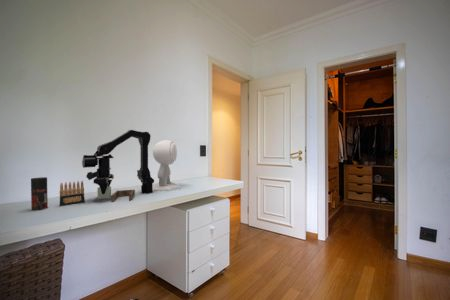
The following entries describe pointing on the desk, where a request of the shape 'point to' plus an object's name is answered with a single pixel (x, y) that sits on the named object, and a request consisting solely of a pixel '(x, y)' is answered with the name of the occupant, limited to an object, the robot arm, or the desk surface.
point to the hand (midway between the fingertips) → (104, 193)
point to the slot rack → (123, 194)
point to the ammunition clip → (71, 194)
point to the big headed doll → (165, 164)
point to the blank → (107, 193)
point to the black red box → (39, 193)
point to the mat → (102, 199)
